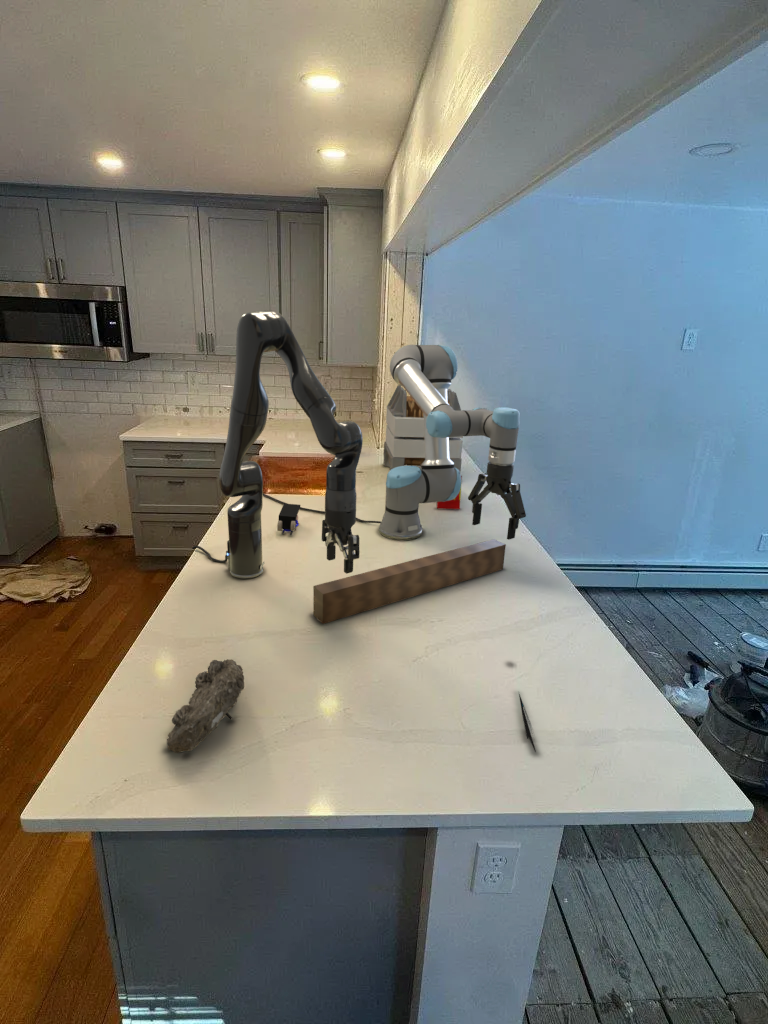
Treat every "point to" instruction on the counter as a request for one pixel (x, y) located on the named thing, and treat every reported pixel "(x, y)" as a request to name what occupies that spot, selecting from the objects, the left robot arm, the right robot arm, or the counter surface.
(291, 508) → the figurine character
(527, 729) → the feather
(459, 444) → the grey wooden crate
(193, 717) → the fossil
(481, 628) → the counter surface
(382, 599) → the post
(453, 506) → the toy
